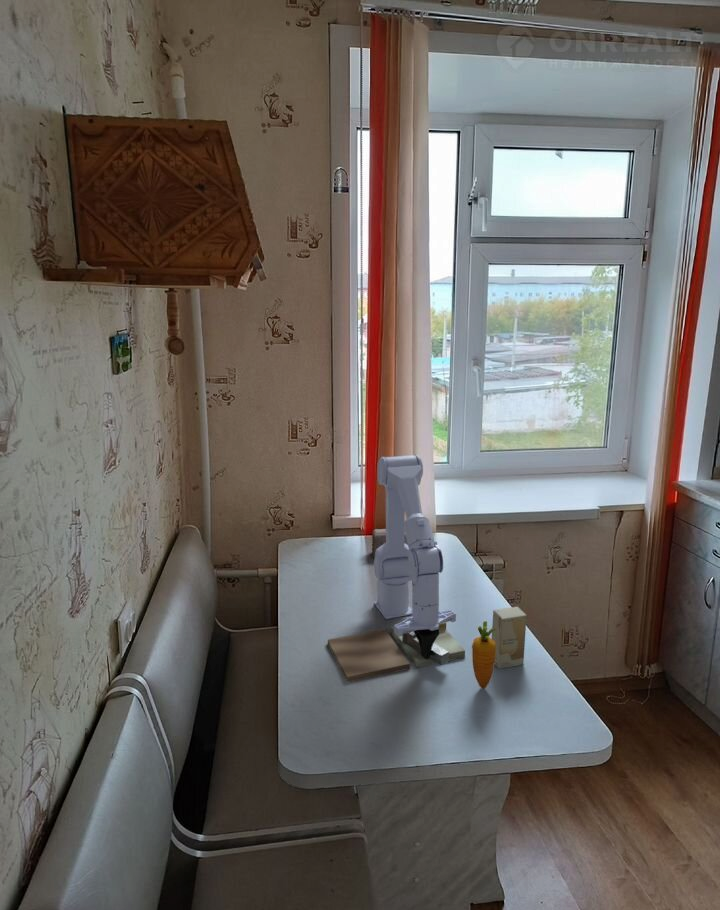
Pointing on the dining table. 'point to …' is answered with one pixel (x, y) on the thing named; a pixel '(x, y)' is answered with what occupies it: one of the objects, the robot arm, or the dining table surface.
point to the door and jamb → (384, 652)
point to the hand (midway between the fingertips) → (425, 657)
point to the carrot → (483, 656)
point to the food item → (381, 539)
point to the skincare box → (509, 636)
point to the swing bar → (436, 652)
